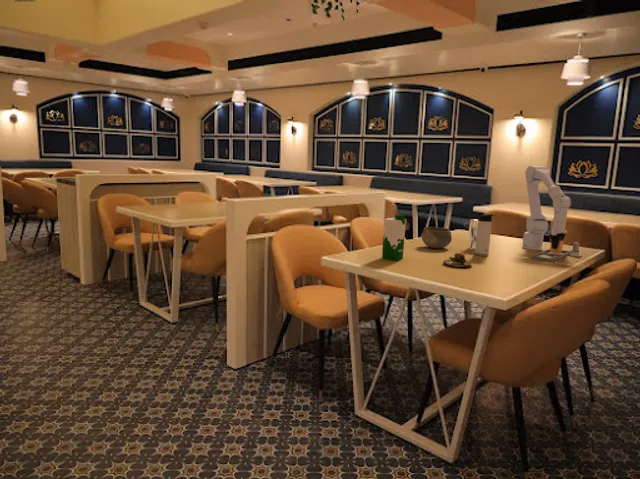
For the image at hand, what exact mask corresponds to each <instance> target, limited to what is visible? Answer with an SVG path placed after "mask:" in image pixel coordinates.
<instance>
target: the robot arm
mask: <svg viewBox="0 0 640 479" xmlns="http://www.w3.org/2000/svg"><path fill="white" fill-rule="evenodd" d="M524 175H525V182H526V189H527V197H528V204H529V205H528V206H529V211H530V212H529V214H530V215H529V216H528V217H527V218H526V224H525V227H526V228H525V229H526V230H527V231H525V232H524V233H523V237H522V244H521V245H522V246H521V249H528V250H535V251H542V250H543V251H544V250H545V247H544V248H543V244H544V235H545V234H546V232H547V231H548V230H549V223H548V220H547V217H546V216H545V215H543V213H542V206H541V199H540V191H539V184H541V183H543V184H544V185H545V187H546V188H547V193H548V195H549V197H550V199H551V200H552V206H553V212H554V213H553V221H552V227H551V228H552V229H551V233H549V238H550V243H551V242H552V249H557V248H558V245H559V241H560V240H562V241H563V242H564V239H565V237H567V234H566V233H568V230H566V226H567V225H566V224H567V220H568V219H567V217H568V210H569V208H570V207H572V199H571V197H570V196H567V195H565V194H564V192H563V191H562V189H561V186H559V185H556V184H555V183H554V181H553V178H551V176H550V170H549V167H547V166H545V165H543V166H542V165H528V166H527V168H526V170H525V172H524Z"/></svg>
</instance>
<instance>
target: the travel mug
mask: <svg viewBox="0 0 640 479" xmlns="http://www.w3.org/2000/svg"><path fill="white" fill-rule="evenodd" d="M493 217H494V214H493V213H491V214H479V215H478V226H477V237H476V247H475V250H474V255H475V256H480V257H488V256H489V252H490V242H491V231H492V221H493V220H492V219H493Z"/></svg>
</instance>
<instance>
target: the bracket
mask: <svg viewBox="0 0 640 479" xmlns="http://www.w3.org/2000/svg"><path fill="white" fill-rule="evenodd" d="M568 251H569V253H568V255H567V256H568V257H569V256H571V257H577V258H580V257H581V256H582V253H583V251H582V250H579V251H578V252H576V251H573V248H571V249H569V250H568Z"/></svg>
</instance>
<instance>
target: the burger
mask: <svg viewBox="0 0 640 479" xmlns="http://www.w3.org/2000/svg"><path fill="white" fill-rule="evenodd" d="M442 262H443V264H446V265H448V266H452V267H458V268H459V267H460V268H463V267H465V268H466V270H467V269H470V268H473V266H472V262H470V261H469V260H468V261H467V259H466V255H465V254H464V253H463V251H462V250H461V251H459V252H455V253H454V256H453V257H452V255H450V256H449V258H448V259H444V260H443V261H442Z"/></svg>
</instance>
